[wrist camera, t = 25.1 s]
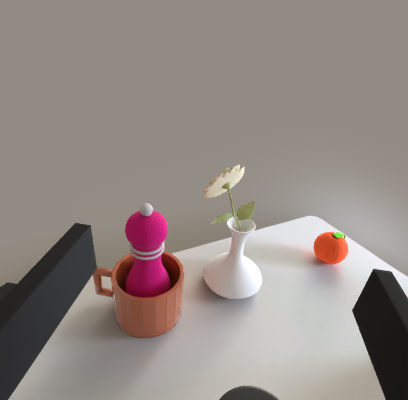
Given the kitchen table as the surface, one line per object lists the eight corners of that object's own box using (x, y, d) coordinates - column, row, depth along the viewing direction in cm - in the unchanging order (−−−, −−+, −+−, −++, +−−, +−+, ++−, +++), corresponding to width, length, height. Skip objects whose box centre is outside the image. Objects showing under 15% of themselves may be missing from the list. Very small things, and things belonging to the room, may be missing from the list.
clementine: (325, 245, 69) (334, 221, 65) (351, 263, 64) (362, 237, 60) (303, 255, 65) (311, 230, 61) (329, 274, 60) (339, 248, 56)
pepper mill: (120, 297, 49) (111, 198, 39) (159, 282, 53) (159, 188, 43) (136, 330, 44) (130, 225, 34) (177, 310, 48) (182, 211, 38)
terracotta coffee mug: (187, 289, 54) (189, 254, 49) (173, 343, 44) (174, 306, 40) (111, 276, 55) (107, 241, 50) (81, 326, 45) (73, 289, 41)
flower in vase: (244, 257, 63) (265, 149, 50) (271, 297, 53) (305, 177, 41) (187, 268, 58) (195, 153, 46) (206, 313, 49) (222, 185, 37)
